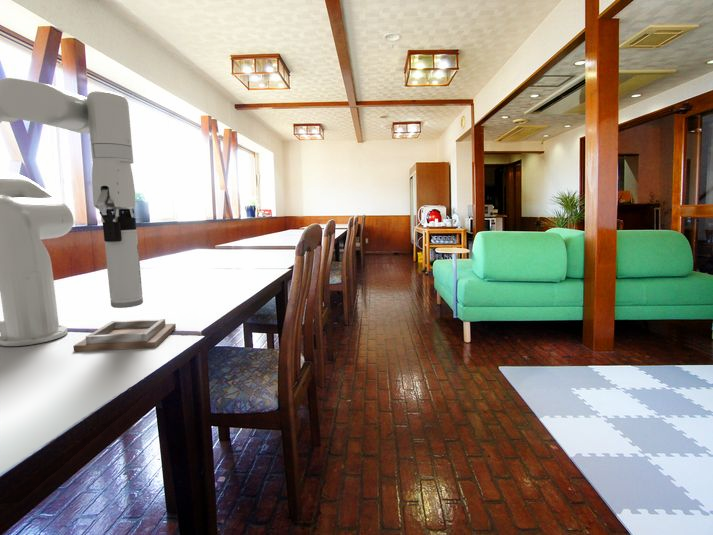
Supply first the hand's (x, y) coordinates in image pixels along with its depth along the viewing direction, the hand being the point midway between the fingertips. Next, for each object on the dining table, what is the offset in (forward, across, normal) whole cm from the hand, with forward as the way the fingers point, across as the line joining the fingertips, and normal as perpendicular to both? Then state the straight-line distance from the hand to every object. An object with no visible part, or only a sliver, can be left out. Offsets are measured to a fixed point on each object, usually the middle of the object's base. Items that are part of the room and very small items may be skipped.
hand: (120, 239), depth 89 cm
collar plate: (+22, 0, 0) cm, 22 cm away
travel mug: (+15, 0, 0) cm, 15 cm away
